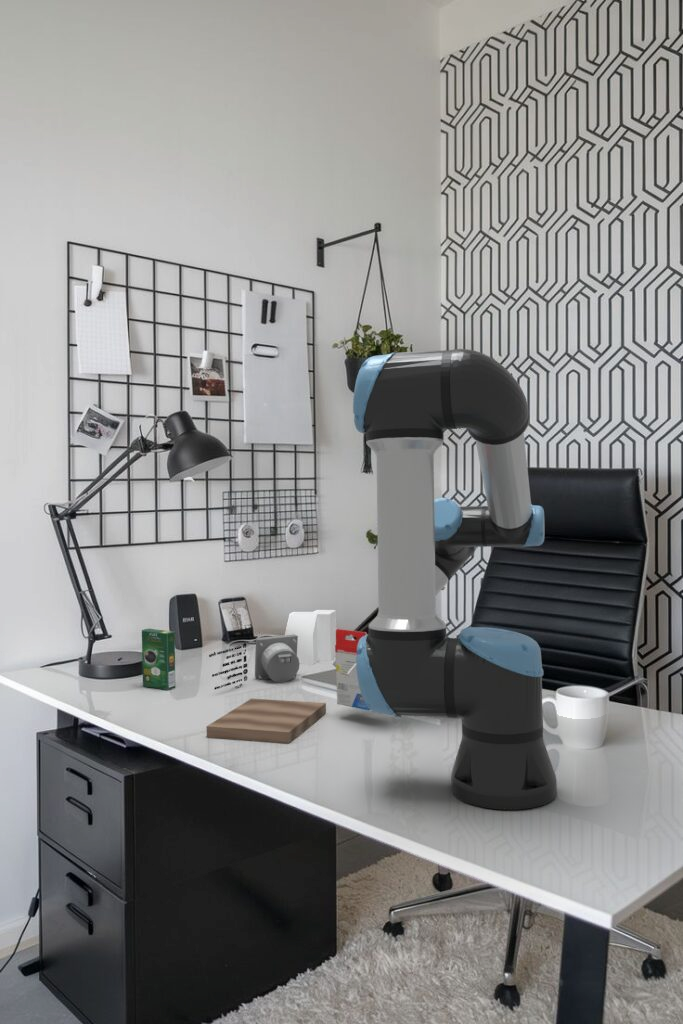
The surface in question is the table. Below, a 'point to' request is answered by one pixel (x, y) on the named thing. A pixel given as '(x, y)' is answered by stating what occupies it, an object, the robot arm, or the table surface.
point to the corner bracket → (313, 635)
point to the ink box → (347, 669)
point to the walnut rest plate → (267, 720)
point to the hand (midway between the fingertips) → (344, 673)
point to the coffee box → (158, 658)
